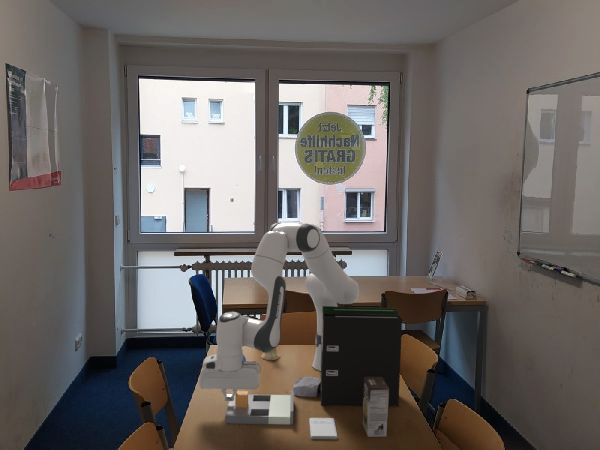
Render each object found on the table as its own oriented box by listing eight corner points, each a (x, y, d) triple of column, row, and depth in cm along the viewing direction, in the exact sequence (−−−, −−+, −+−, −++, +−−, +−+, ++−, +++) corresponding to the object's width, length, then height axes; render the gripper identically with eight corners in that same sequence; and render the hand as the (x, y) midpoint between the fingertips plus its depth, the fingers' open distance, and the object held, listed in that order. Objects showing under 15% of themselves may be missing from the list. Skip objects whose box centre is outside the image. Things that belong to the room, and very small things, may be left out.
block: (248, 402, 193) (248, 391, 192) (247, 407, 189) (247, 396, 188) (236, 402, 193) (236, 391, 192) (235, 407, 189) (235, 395, 188)
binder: (392, 391, 211) (396, 307, 207) (399, 408, 196) (402, 319, 192) (320, 389, 211) (322, 306, 208) (321, 406, 197) (323, 317, 193)
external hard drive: (310, 440, 174) (309, 422, 186) (337, 441, 174) (333, 422, 186) (311, 435, 174) (309, 417, 186) (337, 436, 174) (334, 417, 186)
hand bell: (263, 353, 249) (263, 318, 247) (281, 354, 248) (282, 319, 246) (259, 359, 241) (259, 323, 239) (278, 361, 240) (278, 324, 238)
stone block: (292, 400, 206) (319, 397, 204) (290, 387, 205) (316, 385, 203) (298, 388, 217) (323, 386, 215) (296, 376, 217) (321, 373, 215)
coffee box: (361, 423, 185) (363, 376, 183) (380, 423, 185) (382, 376, 183) (367, 437, 176) (368, 387, 174) (387, 436, 176) (389, 387, 174)
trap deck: (293, 401, 200) (293, 389, 199) (293, 424, 183) (293, 411, 182) (231, 400, 200) (231, 388, 199) (225, 423, 183) (225, 410, 182)
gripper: (261, 358, 192) (260, 396, 194) (201, 357, 192) (201, 396, 194) (259, 364, 186) (259, 404, 188) (198, 364, 186) (198, 404, 188)
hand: (229, 400), depth 191 cm, fingers closed
